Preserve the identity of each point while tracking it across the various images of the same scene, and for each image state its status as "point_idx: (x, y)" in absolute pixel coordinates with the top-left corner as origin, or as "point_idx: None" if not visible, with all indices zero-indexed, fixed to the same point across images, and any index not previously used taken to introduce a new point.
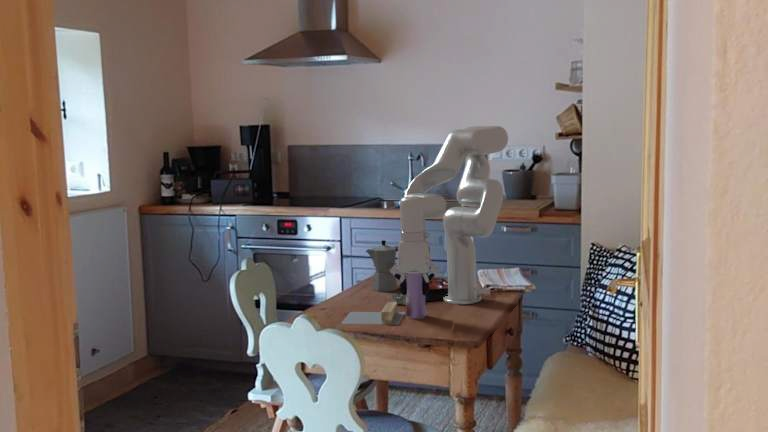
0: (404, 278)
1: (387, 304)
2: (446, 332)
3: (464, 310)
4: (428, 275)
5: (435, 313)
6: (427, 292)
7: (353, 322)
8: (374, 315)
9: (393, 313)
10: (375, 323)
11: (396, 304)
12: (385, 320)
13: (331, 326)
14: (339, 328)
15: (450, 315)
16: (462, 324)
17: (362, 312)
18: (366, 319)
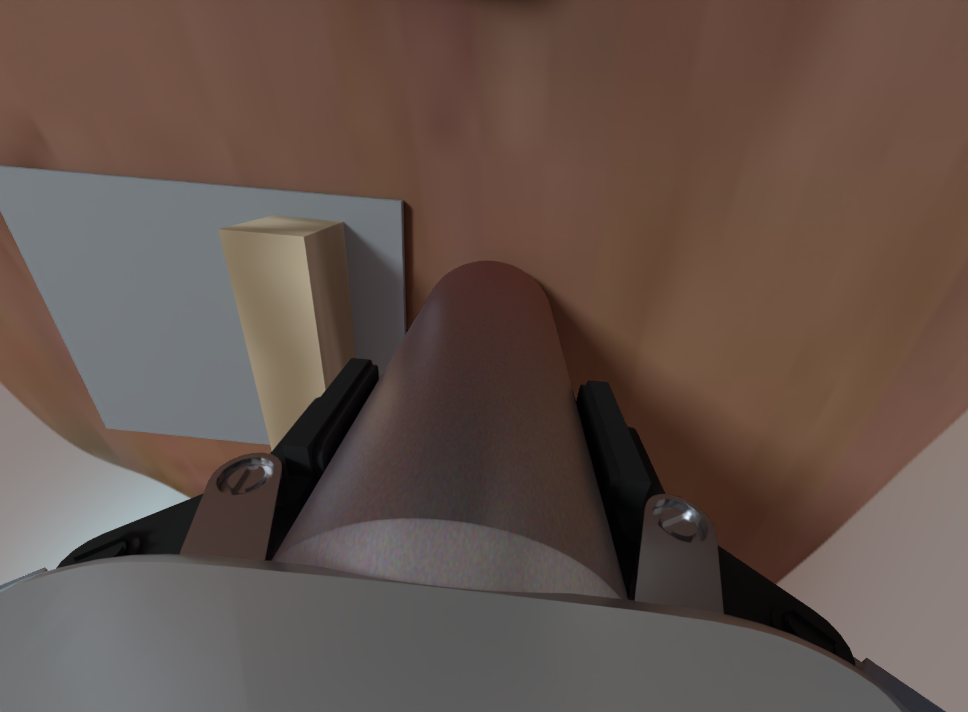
0: (280, 509)
1: (249, 310)
2: None
3: (905, 125)
4: (709, 600)
5: (631, 215)
6: (606, 384)
7: (157, 411)
8: (207, 281)
9: None
10: None
11: (314, 260)
12: None
13: (81, 437)
14: (139, 466)
15: (730, 279)
16: (742, 461)
17: (81, 191)
18: (199, 364)
